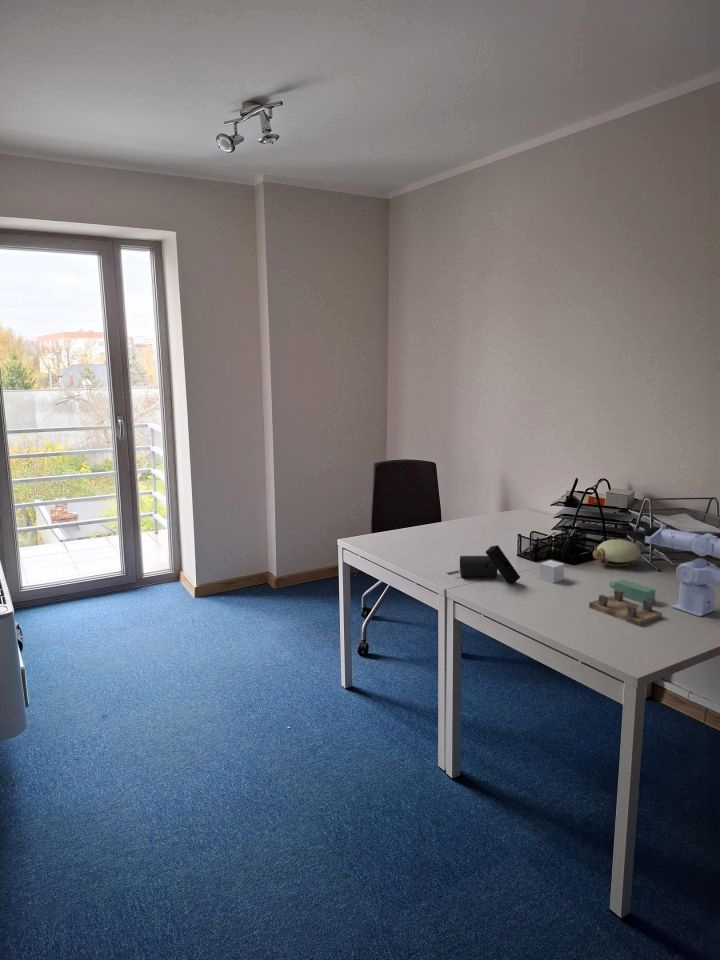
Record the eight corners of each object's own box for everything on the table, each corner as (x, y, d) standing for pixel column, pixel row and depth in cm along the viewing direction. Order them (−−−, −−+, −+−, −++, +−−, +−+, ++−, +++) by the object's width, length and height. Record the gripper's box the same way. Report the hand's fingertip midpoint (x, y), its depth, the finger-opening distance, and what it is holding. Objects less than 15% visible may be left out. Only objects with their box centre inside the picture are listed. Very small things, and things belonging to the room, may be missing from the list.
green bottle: (654, 602, 211) (655, 589, 210) (646, 605, 209) (646, 592, 208) (615, 589, 224) (615, 577, 223) (606, 591, 221) (607, 579, 221)
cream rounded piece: (648, 567, 244) (607, 574, 239) (621, 555, 259) (581, 562, 254) (649, 543, 242) (607, 550, 238) (621, 532, 257) (581, 539, 253)
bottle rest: (661, 617, 199) (662, 603, 198) (639, 626, 193) (639, 611, 192) (611, 599, 214) (612, 586, 213) (589, 607, 208) (589, 593, 207)
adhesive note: (563, 579, 234) (564, 563, 233) (553, 583, 230) (554, 567, 229) (549, 575, 238) (550, 559, 237) (539, 579, 235) (540, 563, 234)
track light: (446, 564, 241) (476, 561, 223) (470, 541, 247) (502, 536, 230) (469, 597, 243) (501, 596, 225) (493, 573, 249) (526, 570, 231)
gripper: (690, 524, 209) (651, 518, 220) (663, 530, 201) (624, 523, 213) (689, 545, 210) (650, 538, 221) (663, 552, 202) (624, 545, 213)
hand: (637, 532), depth 217 cm, fingers open, 7 cm apart
